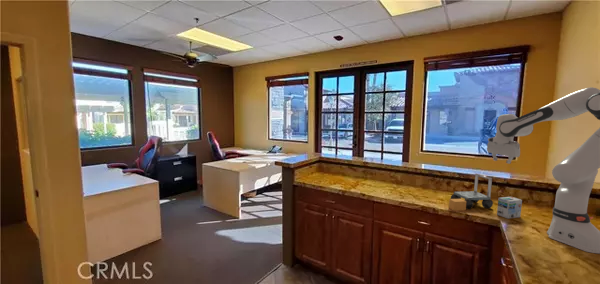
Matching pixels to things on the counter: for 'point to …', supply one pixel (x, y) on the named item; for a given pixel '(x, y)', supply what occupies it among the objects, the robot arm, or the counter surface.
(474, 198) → the trolley
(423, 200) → the counter surface
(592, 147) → the robot arm
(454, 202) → the block
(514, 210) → the light bulb box
